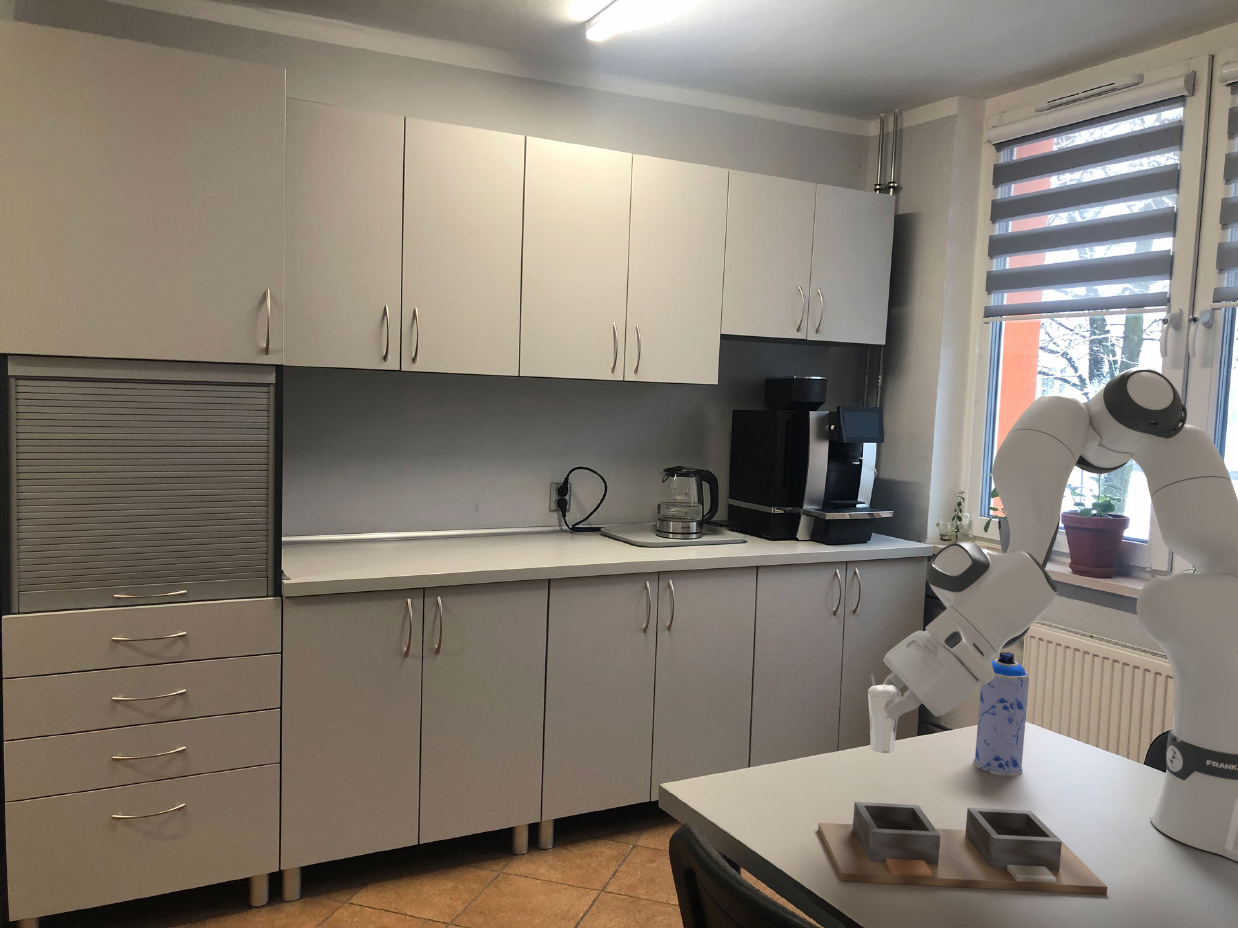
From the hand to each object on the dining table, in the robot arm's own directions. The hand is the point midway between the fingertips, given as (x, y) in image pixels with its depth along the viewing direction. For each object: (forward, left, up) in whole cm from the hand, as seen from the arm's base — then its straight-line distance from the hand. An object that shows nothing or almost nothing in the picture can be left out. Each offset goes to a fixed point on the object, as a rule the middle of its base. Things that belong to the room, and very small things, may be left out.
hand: (882, 707), depth 129 cm
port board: (-9, +7, -18) cm, 22 cm away
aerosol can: (-29, -27, -18) cm, 44 cm away
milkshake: (0, 0, -6) cm, 6 cm away
